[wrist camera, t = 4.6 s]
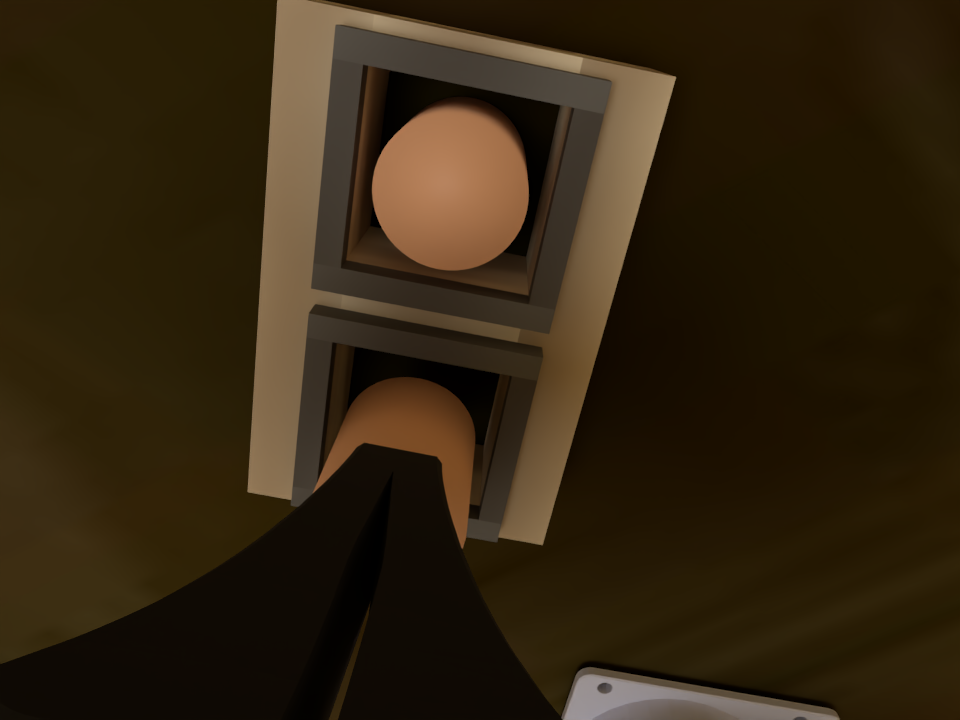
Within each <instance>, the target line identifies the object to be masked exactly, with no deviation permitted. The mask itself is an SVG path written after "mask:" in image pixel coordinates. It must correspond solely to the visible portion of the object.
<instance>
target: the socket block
mask: <svg viewBox="0 0 960 720" xmlns="http://www.w3.org/2000/svg"><path fill="white" fill-rule="evenodd" d="M390 70H392V71H397V72H402V73H407V74H411V75H416V76H421V77H426V78H431V79H436V80H441V81H446V82H450V83H455V84H460V85H465V86H470V87H475V88H480V89H485V90H489V91H494V92H499V93H504V94H509V95H514V96H519V97H524V98H528V99H533V100H538V101H543V102H548V103H553V104H558V105H560V109H559V113H558V118H557V122H556V127H555V131H554V135H553V140H552V144H551V149H550V153H549V158H548V162H547V167H546V171H545V176H544V180H543V184H542V189H541V193H540V198H539V202H538V207H537V211H536V216H535V220H534V225H533V229H532V233H531V238H530V242H529V247H528V251H527V256H526V257H525V256H520V255H515V254H510V253H505V252H502V253H501V254H499V255H498V256H497V257H495V258H494V259H492V260H490V261H489V262H487V263H485V264H482V265H480V266H477V267H474V268H470V269H465V270H440V269H435V268H431V267H428V266H425V265H423V264H420V263H418V262H416V261H414V260H412V259H411V258H409V257H408V256H406V255H405V254H403V253H402V252H401V251H400V250H399V249H398V248H397V247H396V246H395V245H394V244H393V243H392V242H391V241H390V240H389V238H388V237H387V235H386V234H385V232H384V231H383V229H382V228H377V227H372V226H370V224H371V216H372V208H373V196H372V183H373V176H374V170H375V167H376V164H377V161H378V159H379V152H380V144H381V137H382V129H383V121H384V113H385V105H386V97H387V89H388V81H389V73H390ZM675 79H676V77H674V76H671V75H669V74H666V73H663V72H660V71H657V70H654V69H651V68H647V67H642V66H637V65H632V64H627V63H623V62H618V61H613V60H608V59H603V58H599V57H594V56H589V55H584V54H579V53H575V52H570V51H565V50H560V49H555V48H551V47H546V46H541V45H536V44H531V43H526V42H522V41H517V40H512V39H507V38H502V37H498V36H493V35H488V34H483V33H478V32H474V31H469V30H464V29H459V28H454V27H450V26H445V25H440V24H435V23H430V22H426V21H421V20H416V19H411V18H406V17H402V16H397V15H392V14H387V13H382V12H378V11H373V10H368V9H363V8H358V7H354V6H349V5H344V4H339V3H334V2H330V1H325V0H278V1H277V18H276V34H275V51H274V67H273V83H272V100H271V116H270V133H269V149H268V166H267V182H266V199H265V215H264V232H263V248H262V265H261V281H260V297H259V314H258V330H257V347H256V363H255V380H254V396H253V413H252V429H251V446H250V462H249V479H248V492H250V493H256V494H261V495H267V496H272V497H278V498H283V499H289V500H291V506H297V507H298V506H300V505H301V504H302V503H303V502H304V501H305V500H306V499H307V498H308V497H309V496H310V495H312V494H313V491H314V489H315V487H316V484H317V482H318V480H319V477H320V475H321V473H322V470H323V468H324V466H325V463H326V461H327V459H328V456H329V454H330V452H331V449H332V447H333V445H334V442H335V440H336V438H337V435H338V433H339V431H340V428H341V426H342V423H343V421H344V419H345V416H346V414H347V407H348V399H349V392H350V384H351V376H352V368H353V360H354V352H355V347H360V348H366V349H371V350H376V351H382V352H387V353H392V354H397V355H403V356H408V357H413V358H419V359H424V360H429V361H434V362H440V363H445V364H450V365H456V366H461V367H466V368H472V369H477V370H482V371H487V372H493V373H498V374H500V376H499V380H498V385H497V389H496V394H495V398H494V403H493V407H492V412H491V416H490V420H489V425H488V429H487V434H486V438H485V443H484V445H479V444H475V450H474V460H473V471H472V482H471V493H470V504H469V514H468V525H467V534H466V537H470V538H475V539H481V540H486V541H492V542H497V540H498V537H501V538H506V539H512V540H517V541H523V542H529V543H534V544H540V545H543V541H544V538H545V534H546V531H547V527H548V524H549V520H550V517H551V513H552V510H553V506H554V503H555V499H556V496H557V492H558V489H559V485H560V482H561V478H562V475H563V471H564V468H565V464H566V461H567V457H568V454H569V450H570V447H571V443H572V440H573V436H574V433H575V429H576V426H577V422H578V419H579V415H580V412H581V408H582V405H583V401H584V398H585V394H586V391H587V387H588V384H589V380H590V377H591V373H592V370H593V366H594V363H595V359H596V356H597V352H598V349H599V345H600V342H601V338H602V335H603V331H604V328H605V324H606V321H607V317H608V314H609V310H610V307H611V303H612V300H613V296H614V293H615V289H616V286H617V282H618V279H619V275H620V272H621V268H622V265H623V261H624V258H625V254H626V251H627V247H628V244H629V240H630V237H631V233H632V230H633V226H634V223H635V219H636V216H637V212H638V209H639V205H640V202H641V198H642V195H643V191H644V188H645V184H646V181H647V177H648V174H649V170H650V167H651V163H652V160H653V156H654V153H655V149H656V146H657V142H658V139H659V135H660V132H661V128H662V125H663V121H664V118H665V114H666V111H667V107H668V104H669V100H670V97H671V93H672V90H673V86H674V83H675Z"/></svg>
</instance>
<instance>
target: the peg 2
mask: <svg viewBox="0 0 960 720" xmlns="http://www.w3.org/2000/svg"><path fill="white" fill-rule="evenodd" d="M363 443H369V444H374V445H380V446H385V447H390V448H395V449H400V450H406V451H411V452H416V453H421V454H426V455H432V456H437V457H438V459H439V460H440V461H441V463H442V475H443V483H444V488H445V493H446V498H447V502H448V506H449V510H450V514H451V517H452V520H453V524H454V527H455V530H456V533H457V536H458V539H459V542H460V545H461V548H463V546H464V543H465V540H466V534H467V525H468V514H469V504H470V493H471V482H472V471H473V460H474V450H475V429H474V424H473V421H472V418H471V416H470V414H469V412H468V410H467V409H466V407H465V406H464V404H463V403H462V402H461V401H460V400H459V399H458V398H457V397H456V396H455V395H454V394H453V393H451V392H450V391H449V390H447V389H446V388H444V387H442V386H440V385H438V384H436V383H434V382H431V381H428V380H424V379H420V378H413V377H398V378H391V379H386V380H383V381H380V382H378V383H375V384H373V385H372V386H370V387H368V388H367V389H365V390H364V391H363V392H362V393H360V394H359V395H358V396H357V397H356V399H355V400H354V401H353V403H352V404H351V406H350V408H349V410H348V412H347V414H346V416H345V419H344V421H343V423H342V426H341V428H340V431H339V433H338V435H337V438H336V440H335V442H334V445H333V447H332V449H331V452H330V454H329V456H328V459H327V461H326V463H325V466H324V468H323V470H322V473H321V475H320V477H319V480H318V482H317V484H316V487H315V489H314V491H313V493H314V492H315V491H316V490H317V489H318V488H319V487H320V486H321V485H322V484H323V483H324V482H325V481H326V480H327V479H328V478H329V477H330V476H331V475H332V474H333V473H334V472H335V471H336V470H337V469H338V468H339V467H340V466H341V465H342V464H343V463H344V462H345V461H346V459H347V458H348V457H349V456H350V455H351V454H352V452H353V451H354V450H355V449H356V447H358V446H359V445H361V444H363Z"/></svg>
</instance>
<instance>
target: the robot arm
mask: <svg viewBox="0 0 960 720" xmlns="http://www.w3.org/2000/svg"><path fill="white" fill-rule="evenodd" d="M370 601H371V602H370ZM369 604H370V610H369V617H368V620H367V624H366V627H365V631H364V634H363V638H362V642H361V645H360V648H359V652H358V655H357V659H356V662H355V665H354V669H353V672H352V676H351V679H350V682H349V686H348V689H347V692H346V696H345V699H344V702H343V705H342V709H341V712H340V715H339V718H338V720H840V718H839V716H838V714H837V712H835V711H834V710H833V709H830V708H825V707H819V706H813V705H808V704H802V703H796V702H790V701H785V700H779V699H773V698H767V697H761V696H756V695H750V694H744V693H738V692H732V691H727V690H721V689H715V688H709V687H704V686H698V685H692V684H686V683H680V682H675V681H669V680H663V679H657V678H652V677H646V676H640V675H634V674H628V673H623V672H617V671H611V670H605V669H600V668H594V667H587V668H583V669H581V670H580V671H578V673H577V674H576V676H575V679H574V682H573V685H572V688H571V691H570V694H569V697H568V700H567V702H566V705H565V708H564V711H563V714H562V717H560V716H559V714H558V713H557V712H556V711H555V709H554V708H553V707H552V706H551V704H550V703H549V702H548V701H547V699H546V698H545V697H544V695H543V694H542V692H541V691H540V690H539V688H538V687H537V685H536V684H535V682H534V681H533V680H532V678H531V677H530V675H529V674H528V672H527V671H526V669H525V668H524V667H523V665H522V664H521V662H520V661H519V659H518V658H517V657H516V655H515V654H514V652H513V651H512V649H511V647H510V646H509V644H508V642H507V641H506V639H505V637H504V636H503V634H502V632H501V630H500V629H499V627H498V625H497V624H496V622H495V620H494V618H493V616H492V614H491V612H490V611H489V609H488V607H487V605H486V603H485V601H484V599H483V597H482V595H481V593H480V591H479V589H478V586H477V584H476V582H475V580H474V577H473V575H472V573H471V570H470V568H469V565H468V563H467V561H466V558H465V556H464V553H463V550H462V548H461V545H460V542H459V539H458V536H457V533H456V530H455V527H454V524H453V520H452V517H451V514H450V510H449V506H448V502H447V498H446V493H445V488H444V483H443V475H442V463H441V461H440V460H439V459H438V457H437V456H432V455H426V454H421V453H416V452H411V451H406V450H400V449H395V448H390V447H385V446H380V445H374V444H369V443H363V444H361V445H359V446H358V447H356V449H355V450H354V451H353V452H352V454H351V455H350V456H349V457H348V458H347V459H346V461H345V462H344V463H343V464H342V465H341V466H340V467H339V468H338V469H337V470H336V471H335V472H334V473H333V474H332V475H331V476H330V477H329V478H328V479H327V480H326V481H325V482H324V483H323V484H322V485H321V486H320V487H319V488H318V489H317V490H316V491H315V492H314V493H313V494H312V495H310V496H309V497H308V498H307V499H306V500H305V501H304V502H303V503H302V504H301V505H300V506H298V507H297V508H296V509H295V510H294V511H293V512H291V513H290V514H289V515H288V516H286V517H285V518H284V519H283V520H282V521H280V522H279V523H278V524H277V525H275V526H274V527H273V528H272V529H270V530H269V531H268V532H267V533H265V534H264V535H263V536H261V537H260V538H259V539H257V540H256V541H255V542H253V543H252V544H251V545H249V546H248V547H246V548H245V549H244V550H242V551H241V552H239V553H238V554H236V555H235V556H233V557H232V558H230V559H229V560H227V561H226V562H224V563H223V564H221V565H220V566H218V567H217V568H215V569H213V570H212V571H210V572H208V573H207V574H205V575H203V576H201V577H200V578H198V579H196V580H195V581H193V582H191V583H189V584H188V585H186V586H184V587H183V588H181V589H179V590H177V591H176V592H174V593H172V594H170V595H168V596H166V597H164V598H163V599H161V600H159V601H157V602H155V603H153V604H151V605H149V606H147V607H144V608H142V609H140V610H138V611H136V612H134V613H132V614H129V615H127V616H125V617H123V618H121V619H118V620H116V621H114V622H111V623H109V624H107V625H104V626H102V627H100V628H97V629H95V630H93V631H90V632H88V633H85V634H83V635H80V636H78V637H75V638H73V639H70V640H67V641H65V642H62V643H59V644H56V645H53V646H51V647H48V648H45V649H42V650H39V651H37V652H34V653H31V654H28V655H25V656H23V657H20V658H17V659H14V660H11V661H9V662H6V663H2V664H0V720H329V717H330V714H331V711H332V708H333V706H334V703H335V700H336V697H337V694H338V692H339V689H340V686H341V683H342V680H343V678H344V675H345V672H346V669H347V666H348V664H349V661H350V658H351V655H352V652H353V650H354V647H355V644H356V641H357V638H358V635H359V633H360V630H361V627H362V624H363V621H364V618H365V616H366V613H367V610H368V607H369ZM602 683H607V684H602Z"/></svg>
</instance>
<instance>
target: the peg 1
mask: <svg viewBox="0 0 960 720" xmlns="http://www.w3.org/2000/svg"><path fill="white" fill-rule="evenodd" d="M372 196H373V204H374V209H375V213H376V215H377V218H378V221H379V223H380V225H381V227H382V229H383V231H384V232H385V234H386V235H387V237H388V238H389V240H390V241H391V242H392V243H393V244H394V245H395V246H396V247H397V248H398V249H399V250H400V251H401V252H402V253H403V254H405V255H406V256H408V257H409V258H411V259H412V260H414V261H416V262H418V263H420V264H423V265H425V266H428V267H431V268H435V269H440V270H465V269H470V268H474V267H477V266H480V265H482V264H485V263H487V262H489V261H490V260H492V259H494V258H495V257H497V256H498V255H499V254H501V253H502V252H503V251H504V250H505V249H506V248H507V247H508V246H509V245H510V244H511V243H512V241H513V240H514V239H515V237H516V236H517V234H518V232H519V231H520V229H521V227H522V224H523V222H524V219H525V216H526V213H527V208H528V201H529V187H528V176H527V164H526V154H525V149H524V145H523V142H522V139H521V137H520V134H519V133H518V131H517V129H516V127H515V126H514V125H513V123H512V122H511V120H510V119H509V118H508V117H507V116H506V115H505V114H504V113H503V112H501V111H500V110H499V109H498V108H496V107H494V106H493V105H491V104H489V103H487V102H485V101H482V100H479V99H476V98H471V97H450V98H445V99H442V100H438V101H436V102H434V103H432V104H430V105H428V106H427V107H425V108H423V109H422V110H421V111H420V112H419V113H417V114H416V115H415V116H414V117H413V118H412V119H411V120H410V121H409V122H408V123H407V124H406V125H405V126H403V127H402V128H401V129H400V130H399V131H398V132H397V133H396V134H395V135H394V136H393V137H392V138H391V140H390V141H389V142H388V143H387V145H386V146H385V148H384V149H383V151H382V153H381V155H380V157H379V159H378V161H377V164H376V167H375V170H374V176H373V183H372Z"/></svg>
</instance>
